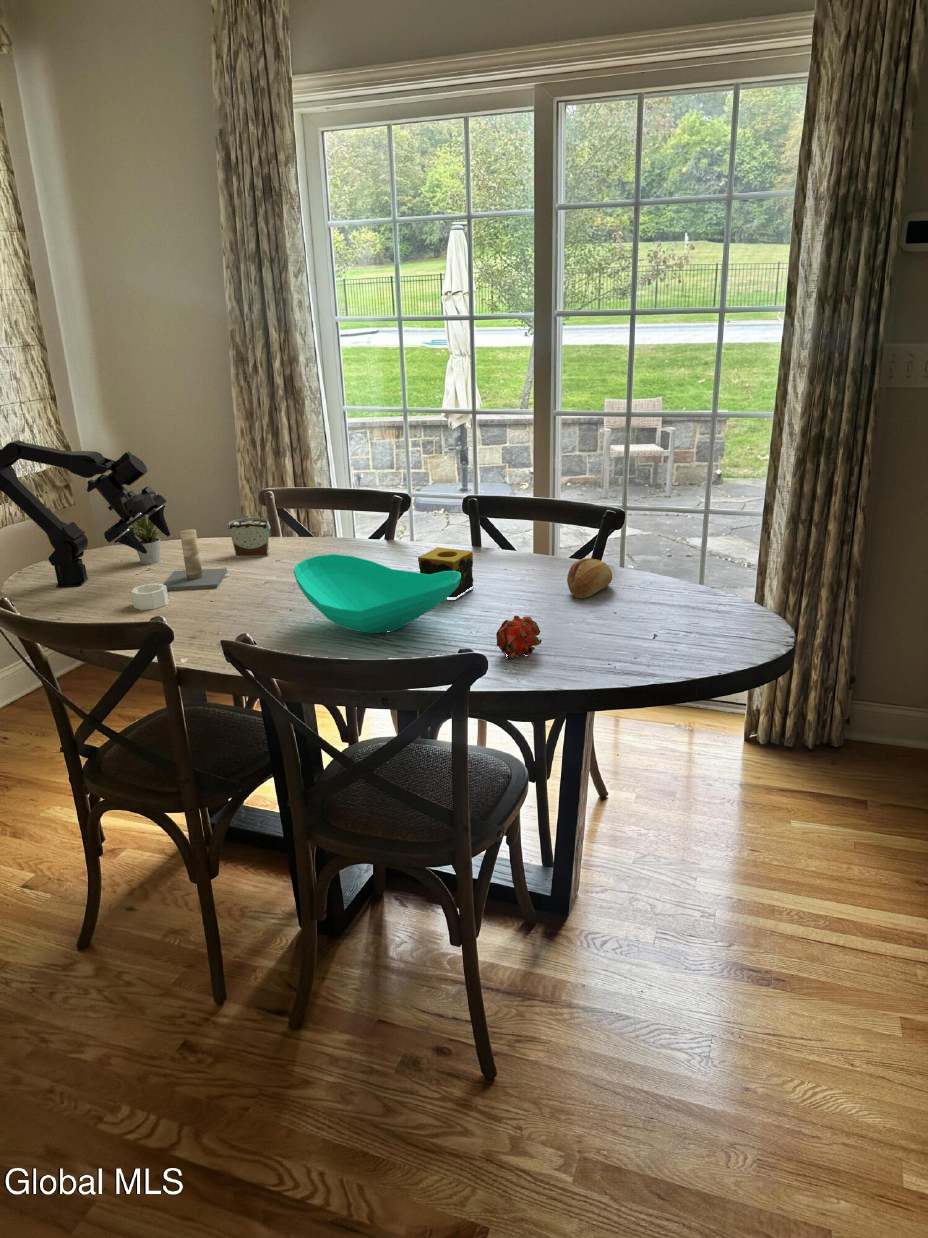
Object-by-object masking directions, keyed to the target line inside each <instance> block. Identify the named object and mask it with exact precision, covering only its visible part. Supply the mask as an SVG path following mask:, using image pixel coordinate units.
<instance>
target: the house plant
mask: <svg viewBox="0 0 928 1238" xmlns="http://www.w3.org/2000/svg"><path fill="white" fill-rule="evenodd" d="M138 514H139V513H138ZM138 514H136V515H138ZM149 516H150V515H148V517H149ZM131 519H133V518H132V517H131V518H130V520H131ZM128 529H129V530H130V529H133V533H134V535H135V537H136V538H137V537H138V538H137V539H138V540H139V541H140V543H141V544H142V545H143V546H144V547H145V549H146V550H147V553H146V554H143V553H141V552H139V551H137V550H136V552H137V555H138V558H139V561H140V563H141V564H142V565H154V564H158V563H159V562H161V538H160V537H156V536H157V535H158V534H159V533H160V534H163V533H162V532H161V531H159V532H157V531H156V530H157V529H158V528H157V527H155V525H154V524H153V523H152V522H151V521H150V520H149V519H148V518H146V515H145V516H143V517H142V518H140V519H139V520H137V521H136V522H135V523H133V524H132V525H131V526H129V527H128ZM140 531H141V532H140Z"/></svg>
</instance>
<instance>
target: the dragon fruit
mask: <svg viewBox="0 0 928 1238" xmlns="http://www.w3.org/2000/svg"><path fill="white" fill-rule="evenodd" d="M540 633H541V630H540V627H539V625H538V623H537V622H536V620H533V618H532V617H531V616H527V615H526V616H523V617H522V618H520V616H519V615H517V614H516V615H514V616H513V619H512V620H509V619H506V620H504V621H503V622H502V623H501V626H500V627H499V629H498V630H497V632H496V635H495V636H496V647H498V648H499V649H500V652H502V653H504V654H505V653H506V654H507V655H508V656H507V657H510V658H509V659H517V658H519V657H520V655H521V654H522V653H523V654H525V655H529V656H530V655H532V654H533V652H534V651H535V649H536V646H539V645H541V644H542V639H539V637H538V636H539V635H540ZM523 654H522V655H523ZM507 657H505V656H504V659H505V658H507ZM512 657H514V658H512Z"/></svg>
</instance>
